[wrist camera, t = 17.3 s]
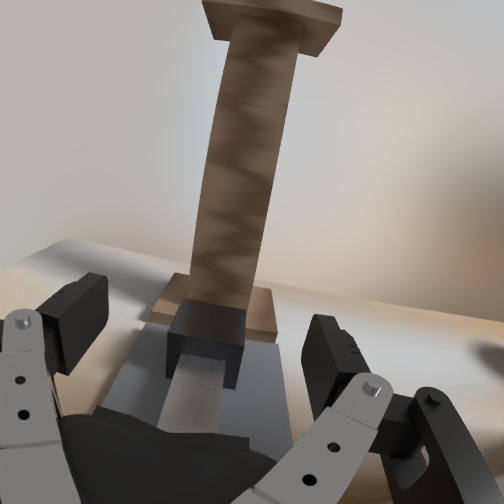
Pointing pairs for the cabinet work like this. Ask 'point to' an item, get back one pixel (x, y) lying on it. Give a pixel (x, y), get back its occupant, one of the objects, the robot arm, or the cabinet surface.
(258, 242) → the walnut stand
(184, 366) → the grey block hammer
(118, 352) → the cabinet surface
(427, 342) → the cabinet surface
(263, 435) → the rubber mat
